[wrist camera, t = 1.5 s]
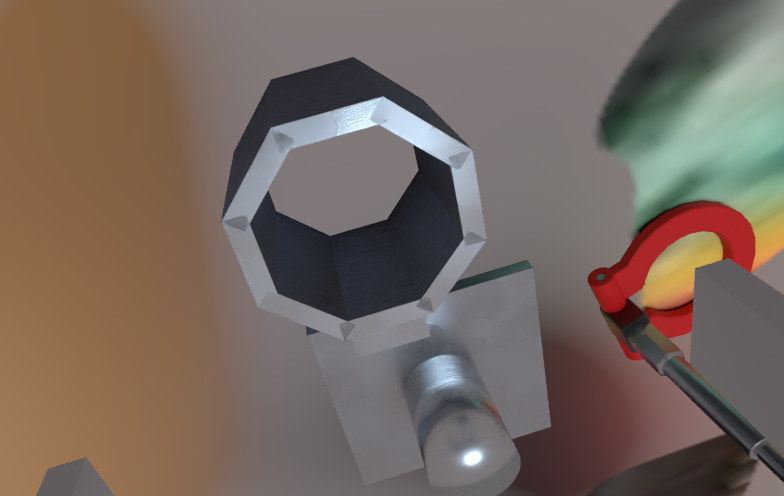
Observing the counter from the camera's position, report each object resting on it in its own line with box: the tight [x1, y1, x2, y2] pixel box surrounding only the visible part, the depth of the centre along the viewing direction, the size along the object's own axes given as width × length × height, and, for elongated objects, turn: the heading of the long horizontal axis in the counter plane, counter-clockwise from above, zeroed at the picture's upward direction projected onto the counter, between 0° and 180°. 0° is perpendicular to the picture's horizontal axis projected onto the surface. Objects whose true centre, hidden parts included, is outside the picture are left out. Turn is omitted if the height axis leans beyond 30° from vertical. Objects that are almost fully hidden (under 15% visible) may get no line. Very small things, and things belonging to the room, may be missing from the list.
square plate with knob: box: [306, 260, 551, 496], centre depth 29 cm, size 12×12×7 cm
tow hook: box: [588, 201, 784, 482], centre depth 26 cm, size 8×13×9 cm
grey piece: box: [221, 57, 487, 358], centre depth 22 cm, size 11×8×7 cm
